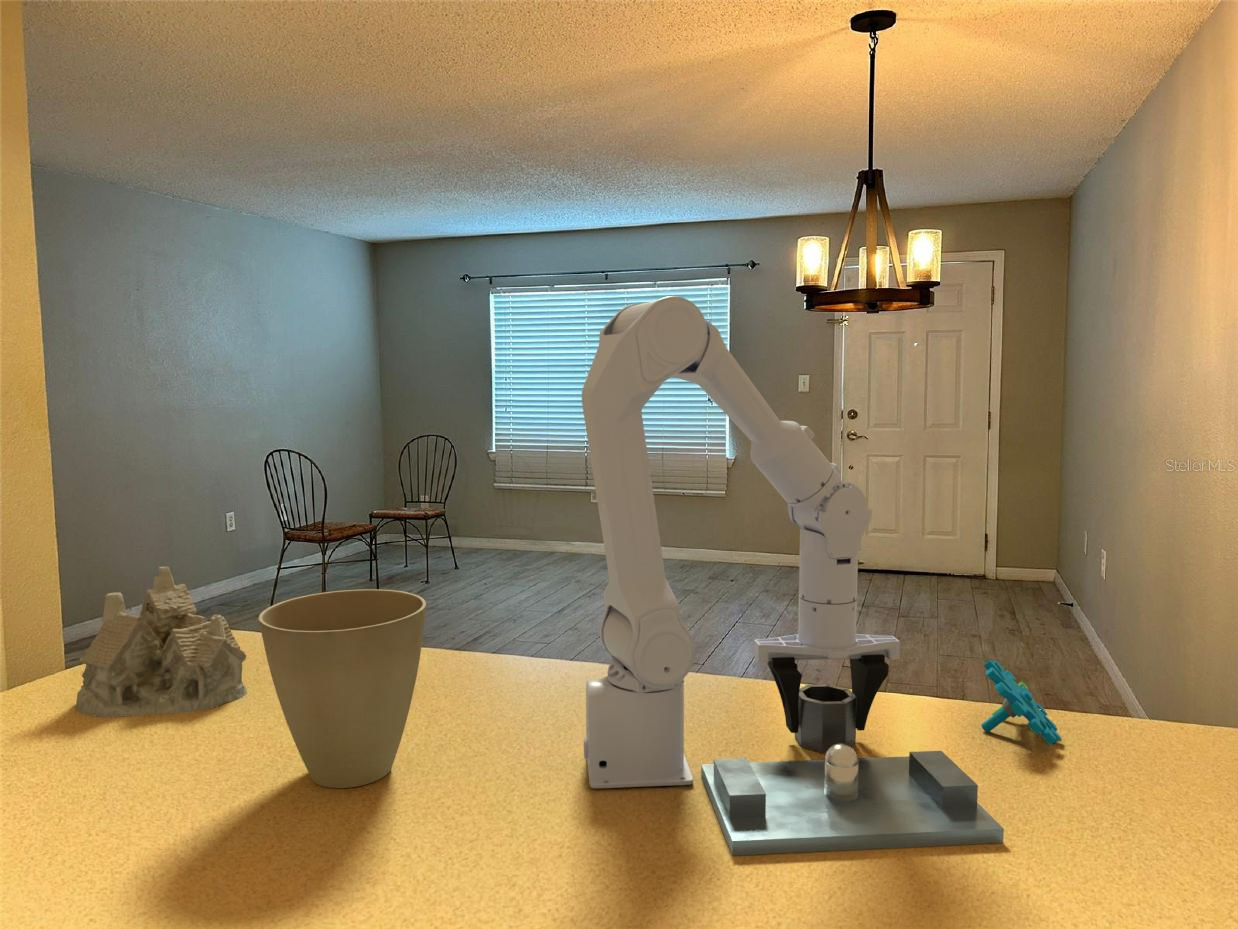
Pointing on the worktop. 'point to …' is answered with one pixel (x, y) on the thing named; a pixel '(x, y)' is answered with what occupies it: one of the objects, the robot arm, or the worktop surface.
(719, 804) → the shaft mount
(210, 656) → the ceramic cottage
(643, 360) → the robot arm
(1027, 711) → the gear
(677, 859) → the worktop surface
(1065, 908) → the worktop surface
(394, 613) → the plant pot
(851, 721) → the collar
